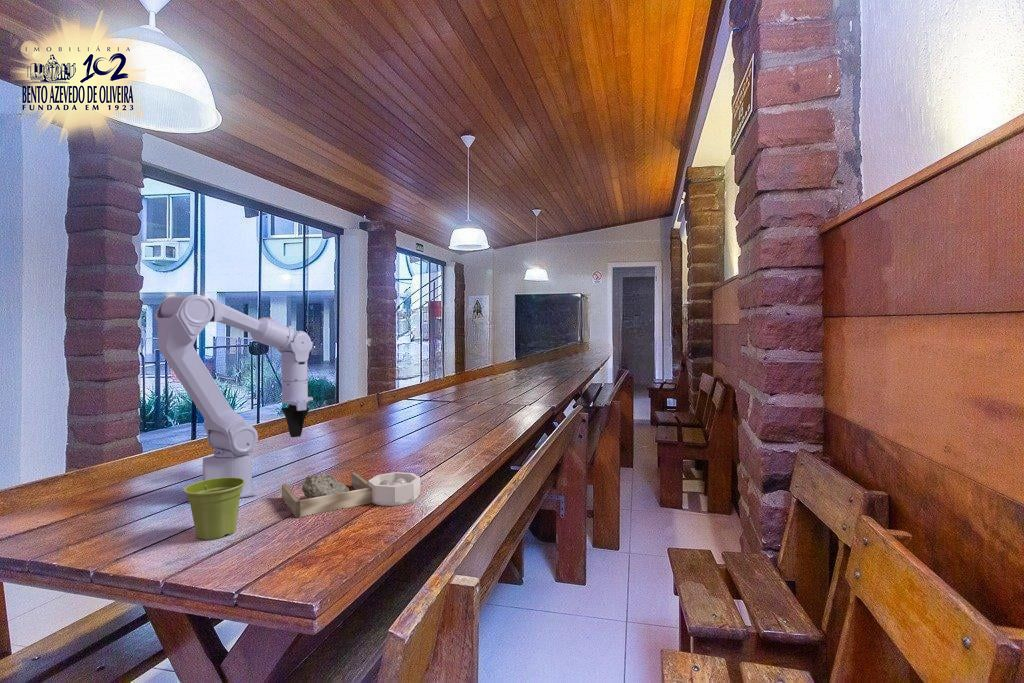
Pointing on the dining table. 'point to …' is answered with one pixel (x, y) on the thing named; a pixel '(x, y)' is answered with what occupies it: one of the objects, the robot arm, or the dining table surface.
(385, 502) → the bowl
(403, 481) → the pebble
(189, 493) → the plant pot
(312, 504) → the tray frame
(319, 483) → the rock sample
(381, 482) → the pebble
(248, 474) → the robot arm
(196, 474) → the dining table surface
